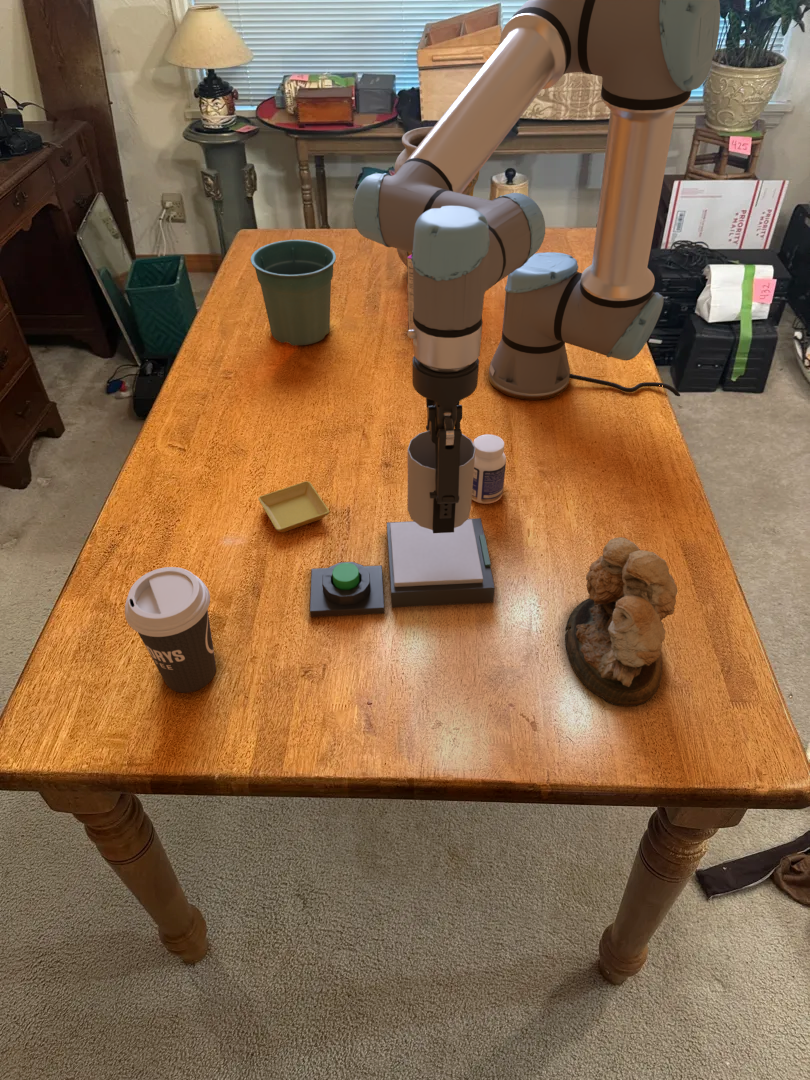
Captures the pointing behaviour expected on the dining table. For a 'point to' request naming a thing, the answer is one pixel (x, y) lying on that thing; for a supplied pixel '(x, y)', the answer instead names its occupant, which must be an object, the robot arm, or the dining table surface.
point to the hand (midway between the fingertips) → (439, 507)
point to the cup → (424, 479)
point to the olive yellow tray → (293, 506)
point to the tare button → (345, 576)
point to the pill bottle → (488, 469)
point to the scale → (438, 565)
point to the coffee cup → (174, 626)
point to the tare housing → (346, 593)
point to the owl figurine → (622, 624)
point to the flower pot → (296, 289)
